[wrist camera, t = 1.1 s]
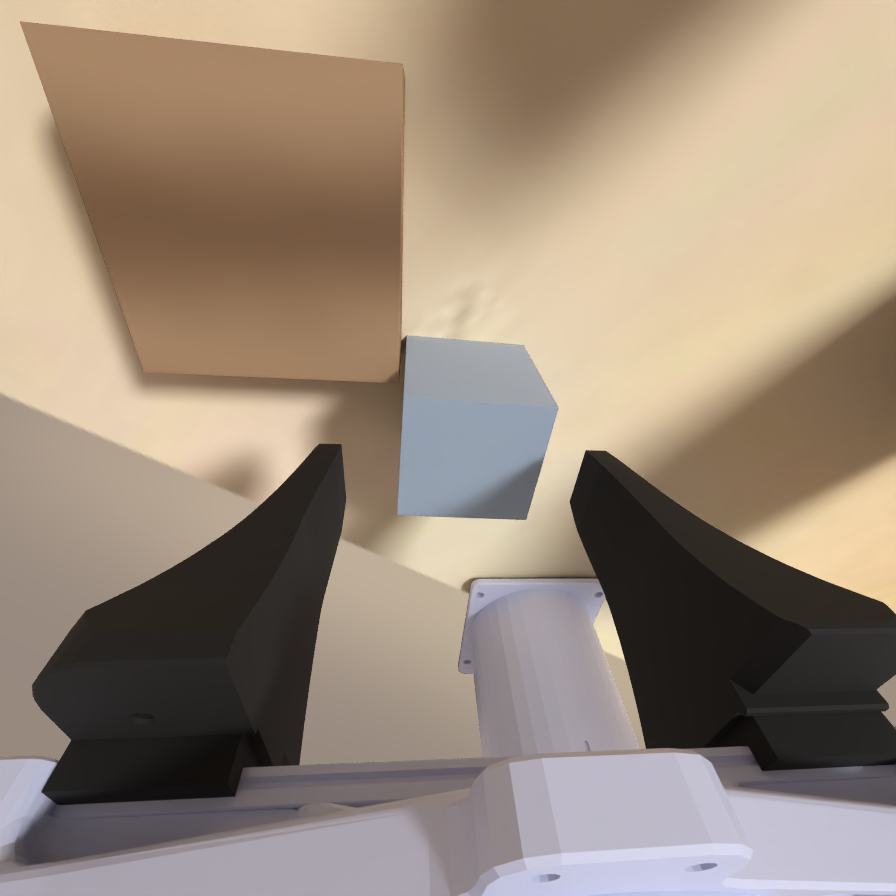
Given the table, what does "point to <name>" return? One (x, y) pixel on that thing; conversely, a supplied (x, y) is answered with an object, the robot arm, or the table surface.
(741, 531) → the table surface
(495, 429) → the blue block
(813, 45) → the table surface
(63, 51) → the walnut block
